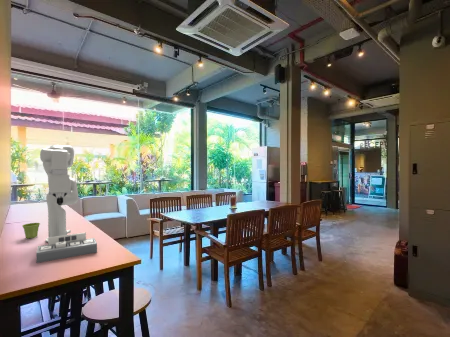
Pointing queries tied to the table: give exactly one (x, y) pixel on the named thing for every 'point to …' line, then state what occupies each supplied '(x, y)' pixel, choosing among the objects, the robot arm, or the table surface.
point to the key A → (46, 248)
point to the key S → (61, 244)
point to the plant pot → (31, 230)
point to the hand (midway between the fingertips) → (59, 204)
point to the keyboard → (68, 250)
